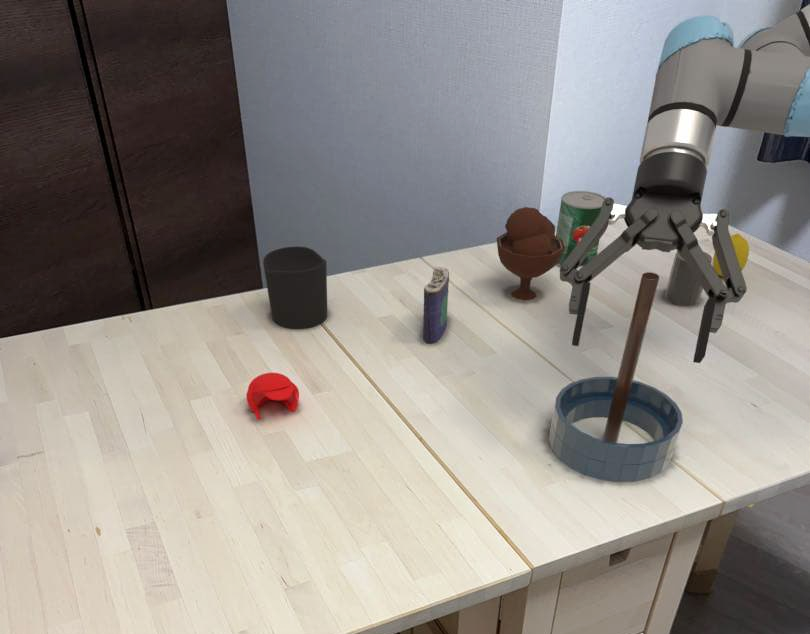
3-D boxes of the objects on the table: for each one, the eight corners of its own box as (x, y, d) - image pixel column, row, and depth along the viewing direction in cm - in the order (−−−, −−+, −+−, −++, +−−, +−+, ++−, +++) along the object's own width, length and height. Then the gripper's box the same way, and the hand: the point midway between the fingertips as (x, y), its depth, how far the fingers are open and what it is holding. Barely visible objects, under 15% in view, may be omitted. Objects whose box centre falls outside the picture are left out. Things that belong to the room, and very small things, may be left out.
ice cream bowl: (549, 318, 120) (563, 224, 110) (482, 306, 123) (491, 213, 112) (562, 291, 127) (577, 200, 117) (499, 280, 130) (508, 191, 120)
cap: (238, 411, 100) (231, 372, 96) (273, 394, 103) (268, 355, 99) (275, 436, 96) (270, 396, 92) (310, 417, 99) (307, 378, 95)
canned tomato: (584, 273, 133) (596, 210, 125) (544, 263, 136) (553, 200, 128) (602, 258, 137) (614, 196, 130) (562, 248, 140) (572, 187, 133)
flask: (432, 319, 119) (435, 253, 112) (450, 322, 119) (455, 256, 111) (420, 347, 113) (422, 279, 105) (439, 350, 112) (442, 282, 105)
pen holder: (336, 310, 121) (332, 249, 114) (321, 337, 114) (316, 275, 108) (280, 304, 122) (273, 244, 115) (262, 332, 116) (254, 269, 109)
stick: (617, 442, 94) (661, 274, 79) (614, 449, 93) (657, 280, 78) (603, 438, 95) (644, 270, 80) (600, 445, 94) (640, 277, 79)
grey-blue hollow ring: (680, 434, 97) (693, 394, 93) (654, 501, 87) (667, 460, 83) (568, 404, 102) (576, 365, 98) (532, 465, 92) (538, 424, 88)
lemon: (739, 288, 129) (755, 242, 124) (706, 283, 130) (720, 237, 125) (740, 275, 133) (755, 230, 127) (708, 270, 134) (721, 225, 129)
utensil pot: (700, 299, 126) (714, 253, 120) (694, 313, 122) (708, 265, 116) (667, 292, 127) (679, 246, 122) (660, 306, 124) (672, 259, 118)
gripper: (779, 194, 85) (743, 375, 85) (561, 173, 90) (527, 345, 90) (801, 158, 78) (762, 356, 78) (562, 138, 83) (525, 324, 82)
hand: (636, 351), depth 84 cm, fingers open, 13 cm apart
